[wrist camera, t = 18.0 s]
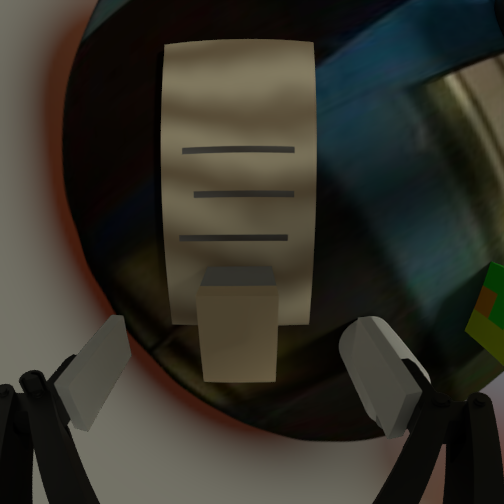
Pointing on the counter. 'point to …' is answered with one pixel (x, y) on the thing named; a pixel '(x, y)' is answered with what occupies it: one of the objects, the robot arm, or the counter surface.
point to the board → (239, 167)
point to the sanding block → (238, 324)
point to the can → (346, 352)
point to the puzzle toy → (490, 314)
